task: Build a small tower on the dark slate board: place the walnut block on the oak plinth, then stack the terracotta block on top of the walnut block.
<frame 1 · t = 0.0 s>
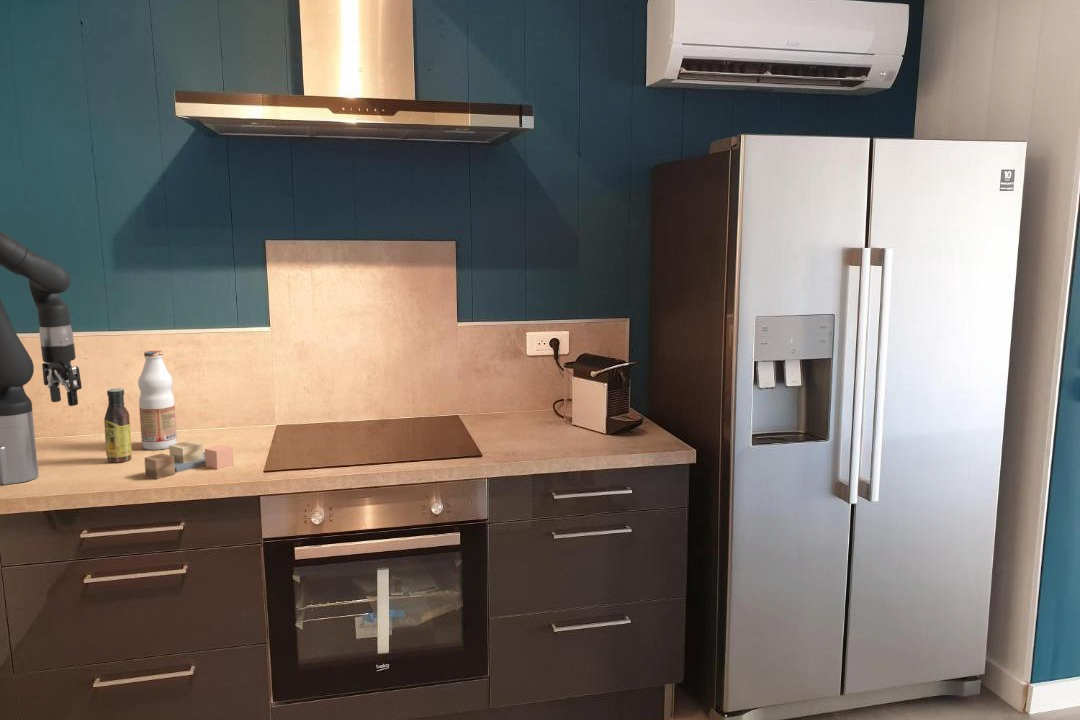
hand: (64, 403, 219), 17 cm above the counter, tool pointing down, fingers open, 8 cm apart
oak plinth: (186, 451, 226), on the board, point 3 cm above the counter
walnut block: (160, 475, 215), on the counter
terracotta block: (219, 466, 223), on the counter
board: (187, 462, 226), on the counter
sauce bottle: (120, 461, 228), on the counter
fruit juice: (160, 447, 243), on the counter
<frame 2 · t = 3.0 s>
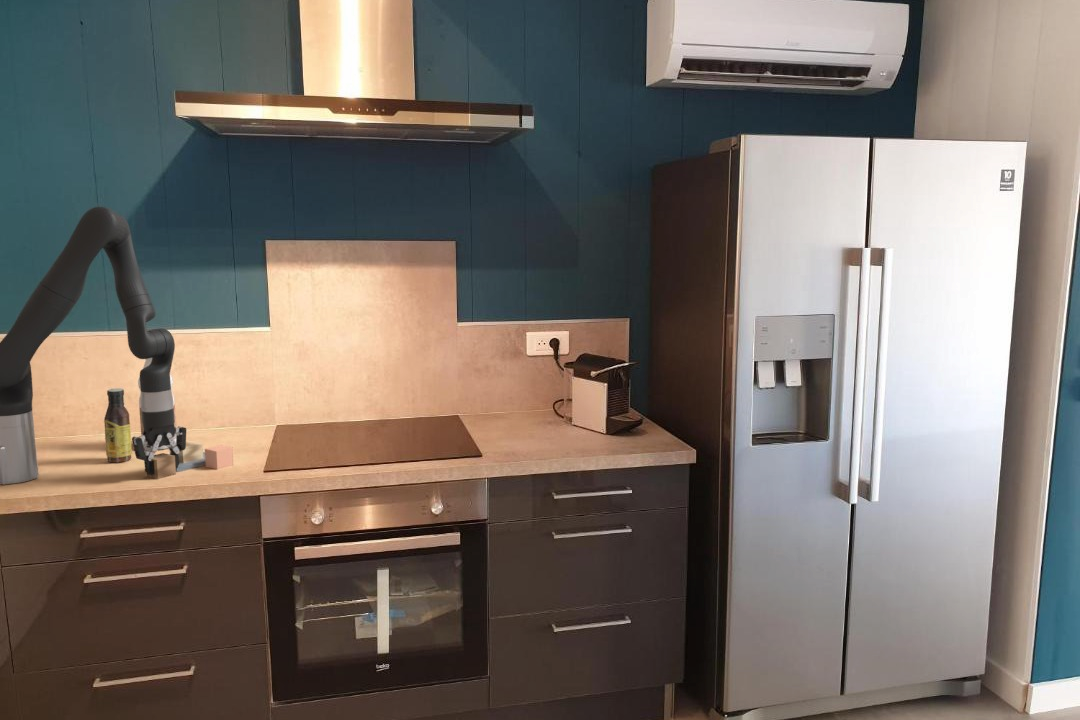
hand: (162, 470, 215), 1 cm above the counter, tool pointing down, fingers open, 6 cm apart
walnut block: (161, 475, 215), on the counter, touching gripper
everything else where it was.
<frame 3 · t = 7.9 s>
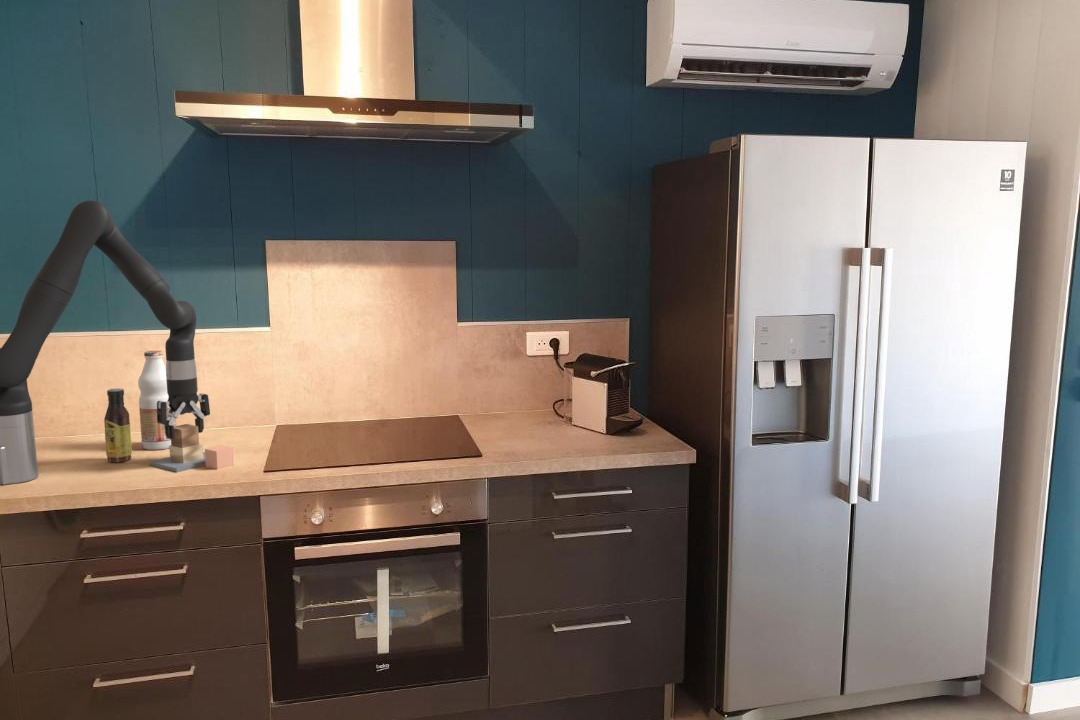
hand: (185, 435, 225), 8 cm above the counter, tool pointing down, fingers open, 8 cm apart
walnut block: (185, 444, 225), point 5 cm above the counter, touching oak plinth
everything else where it was.
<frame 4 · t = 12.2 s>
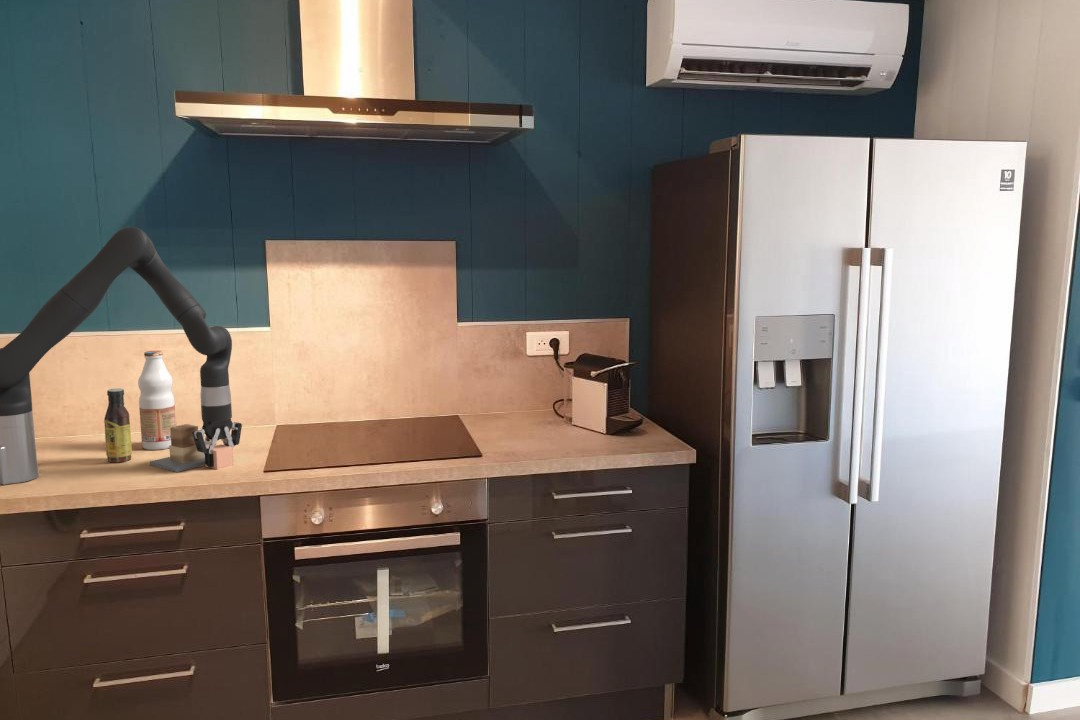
hand: (219, 463, 223), 0 cm above the counter, tool pointing down, fingers closed on terracotta block, 5 cm apart
terracotta block: (219, 465, 223), on the counter, touching gripper
everything else where it was.
when the fingers open (12 cm above the counter, at t = 17.9 s): terracotta block drops 1 cm, resting on walnut block.
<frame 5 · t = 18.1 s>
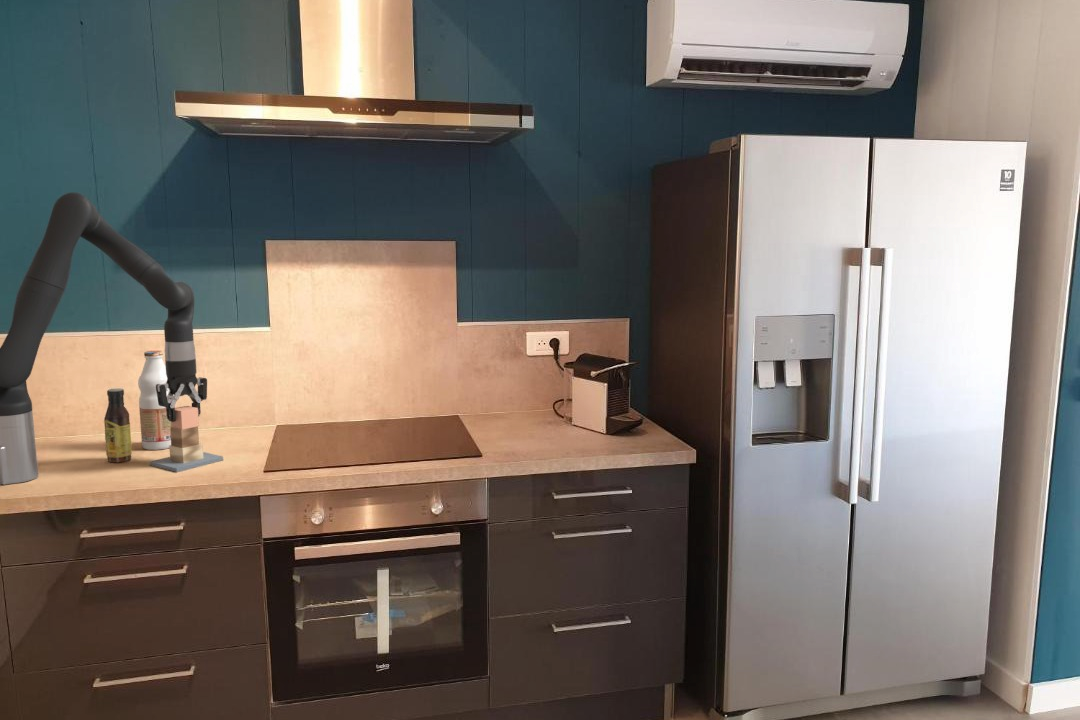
hand: (184, 418, 224), 12 cm above the counter, tool pointing down, fingers open, 6 cm apart
walnut block: (185, 444, 225), point 5 cm above the counter, touching oak plinth, terracotta block
terracotta block: (185, 426, 225), point 10 cm above the counter, touching walnut block
everything else where it was.
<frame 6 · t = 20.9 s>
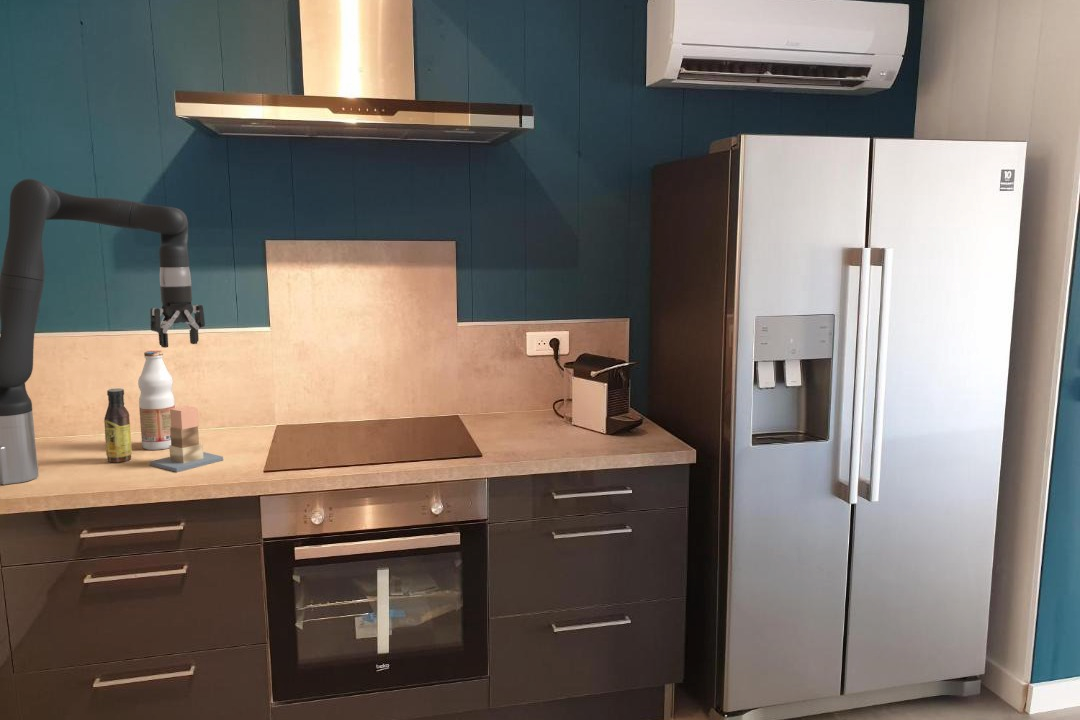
hand: (179, 345, 221), 32 cm above the counter, tool pointing down, fingers open, 8 cm apart
nothing on the counter moved.
at the end: walnut block 0.2 cm off-centre on the oak plinth, point 5.0 cm above the oak plinth's base; terracotta block 0.3 cm off-centre on the walnut block, point 5.0 cm above the walnut block's base; terracotta block tilted 0° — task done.
